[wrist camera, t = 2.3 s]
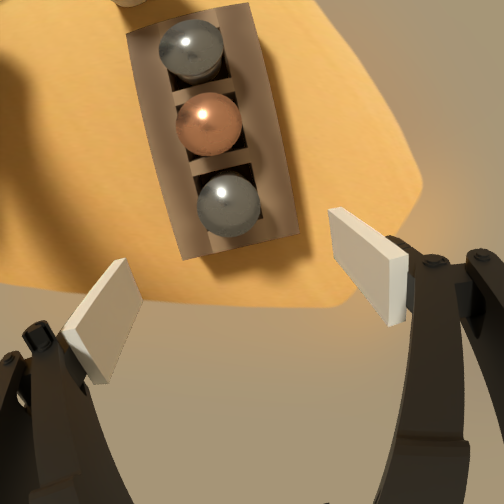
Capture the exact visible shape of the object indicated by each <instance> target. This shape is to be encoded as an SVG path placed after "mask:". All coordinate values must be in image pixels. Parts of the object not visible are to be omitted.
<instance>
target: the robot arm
mask: <svg viewBox="0 0 504 504" xmlns="http://www.w3.org/2000/svg"><path fill="white" fill-rule="evenodd" d="M328 216H329V223H330V230H331V238H332V246H333V255H334V259H335V260H336V261H337V262H338V264H339V265H340V266H341V267H342V268H343V270H344V271H345V272H346V273H347V275H348V276H349V277H350V278H351V280H352V281H353V282H354V283H355V285H356V286H357V287H358V288H359V290H360V291H361V292H362V294H363V295H364V296H365V297H366V299H367V300H368V301H369V302H370V304H371V305H372V306H373V308H374V309H375V310H376V312H377V313H378V314H379V316H380V317H381V318H382V319H383V321H384V322H385V323H386V325H387V326H388V327H390V326H393V325H395V324H398V323H401V322H404V321H406V309H407V308H408V310H410V312H411V313H412V322H411V331H410V344H409V353H408V360H407V368H406V375H405V381H404V387H403V393H402V399H401V404H400V409H399V414H398V419H397V423H396V428H395V432H394V437H393V441H392V444H391V449H390V452H389V456H388V459H387V463H386V466H385V470H384V473H383V476H382V479H381V483H380V485H379V488H378V491H377V494H376V497H375V499H374V502H373V504H463V502H464V497H465V491H466V485H467V478H468V470H469V461H470V445H469V442H468V441H466V440H464V438H463V427H464V362H463V348H462V337H461V327H460V322H461V324H462V326H463V328H464V330H465V333H466V335H467V337H468V339H469V342H470V344H471V346H472V349H473V351H474V354H475V356H476V358H477V361H478V364H479V366H480V369H481V371H482V374H483V376H484V379H485V382H486V385H487V387H488V390H489V394H490V397H491V400H492V403H493V406H494V409H495V412H496V416H497V419H498V423H499V426H500V430H501V434H502V438H503V442H504V263H503V262H502V261H501V259H500V258H499V257H498V256H497V255H496V254H494V253H493V252H491V251H489V250H487V249H482V248H480V249H474V250H470V251H469V252H468V253H467V256H466V263H464V264H454V265H451V264H450V262H449V260H448V259H447V258H445V257H443V256H440V255H435V254H429V255H423V254H421V253H420V252H418V251H417V250H416V249H414V248H413V247H411V246H410V245H409V244H407V243H406V242H404V241H403V240H401V239H400V238H396V237H394V236H391V235H389V236H385V237H384V236H383V235H382V234H380V233H379V232H377V231H376V230H374V229H373V228H372V227H370V226H369V225H367V224H366V223H364V222H363V221H362V220H360V219H359V218H357V217H356V216H354V215H353V214H351V213H350V212H348V211H347V210H345V209H344V208H342V207H338V208H333V209H328ZM142 303H143V299H142V297H141V294H140V292H139V290H138V287H137V285H136V282H135V280H134V277H133V275H132V272H131V270H130V267H129V264H128V262H127V259H126V258H122V259H118V260H114V261H113V262H112V264H111V265H110V266H109V267H108V269H107V270H106V271H105V272H104V274H103V275H102V276H101V277H100V279H99V280H98V281H97V282H96V284H95V285H94V286H93V287H92V289H91V290H90V291H89V293H88V294H87V295H86V297H85V298H84V299H83V301H82V302H81V303H80V305H79V306H78V307H77V309H76V310H75V311H74V312H73V314H72V315H71V316H70V318H69V319H68V321H67V322H66V323H65V325H64V326H63V328H62V329H61V330H60V332H59V333H58V335H57V336H56V337H55V335H54V333H53V332H52V330H51V328H50V326H49V325H48V323H47V321H45V320H43V321H39V322H36V323H34V324H32V325H31V326H30V327H28V328H27V329H26V330H25V331H24V332H23V335H22V337H23V339H24V341H25V342H26V344H27V346H28V347H29V349H30V350H31V352H32V357H30V358H27V359H23V357H22V355H21V354H20V352H19V351H12V352H10V353H7V354H6V355H4V357H3V359H2V360H1V361H0V504H134V503H133V501H132V499H131V497H130V495H129V493H128V491H127V489H126V487H125V485H124V483H123V481H122V478H121V476H120V474H119V472H118V470H117V467H116V465H115V462H114V460H113V458H112V455H111V453H110V450H109V448H108V445H107V442H106V440H105V438H104V434H103V432H102V429H101V426H100V423H99V420H98V417H97V414H96V411H95V408H94V405H93V401H92V398H91V395H90V391H89V388H88V386H87V385H86V384H85V382H84V379H85V377H86V375H88V377H89V378H90V380H91V381H92V383H93V384H94V385H96V384H109V381H110V379H111V376H112V374H113V371H114V369H115V366H116V364H117V361H118V359H119V356H120V354H121V351H122V349H123V346H124V344H125V342H126V339H127V337H128V335H129V332H130V330H131V328H132V325H133V323H134V320H135V318H136V316H137V314H138V312H139V309H140V307H141V305H142ZM17 394H18V395H19V396H20V398H21V399H22V400H23V401H24V403H25V405H24V407H23V406H22V405H21V404H20V403H19V402H18V399H17ZM325 504H329V503H325Z"/></svg>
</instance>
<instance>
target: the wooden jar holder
mask: <svg viewBox="0 0 504 504" xmlns="http://www.w3.org/2000/svg"><path fill="white" fill-rule="evenodd" d="M192 19H198V20H203V21H207V22H209V23H211V24H213V25H214V26H215V27H216V28H217V29H218V30H219V31H220V33H221V35H222V38H223V56H224V60H225V64H226V68H227V72H228V76H229V78H227V79H222V80H218V81H213V82H209V83H205V84H201V85H197V86H193V87H189V88H186V89H182V90H179V88H178V83H177V79H176V74H174V73H172V72H171V71H170V70H168V69H167V68H166V67H165V66H164V64H163V63H162V61H161V59H160V56H159V44H160V41H161V39H162V37H163V35H164V34H165V33H166V32H167V31H168V30H169V29H170V28H171V27H172V26H174V25H175V24H177V23H179V22H182V21H185V20H192ZM126 37H127V43H128V49H129V54H130V60H131V65H132V70H133V75H134V80H135V85H136V90H137V95H138V99H139V104H140V108H141V113H142V117H143V121H144V126H145V130H146V134H147V138H148V142H149V146H150V150H151V154H152V158H153V162H154V165H155V169H156V173H157V177H158V180H159V184H160V187H161V191H162V195H163V198H164V202H165V205H166V208H167V212H168V215H169V219H170V222H171V225H172V229H173V232H174V235H175V238H176V241H177V245H178V248H179V251H180V254H181V257H182V260H188V259H192V258H196V257H200V256H205V255H209V254H213V253H218V252H222V251H226V250H230V249H235V248H239V247H243V246H248V245H252V244H256V243H261V242H265V241H269V240H274V239H278V238H283V237H287V236H291V235H296V234H300V231H299V226H298V220H297V214H296V209H295V203H294V197H293V192H292V187H291V181H290V176H289V171H288V166H287V161H286V156H285V151H284V146H283V141H282V137H281V132H280V127H279V123H278V118H277V114H276V109H275V105H274V100H273V96H272V92H271V87H270V83H269V79H268V75H267V71H266V67H265V63H264V59H263V55H262V51H261V47H260V43H259V39H258V35H257V32H256V28H255V24H254V21H253V17H252V13H251V10H250V6H249V3H242V4H235V5H229V6H224V7H218V8H213V9H209V10H204V11H200V12H195V13H191V14H187V15H183V16H180V17H176V18H172V19H169V20H165V21H162V22H159V23H156V24H153V25H150V26H147V27H144V28H141V29H138V30H135V31H132V32H130V33H127V34H126ZM209 92H211V93H218V94H221V95H224V96H226V97H228V98H229V99H234V102H235V104H236V106H237V107H238V109H239V111H240V114H241V118H242V129H241V132H242V137H243V141H244V145H245V147H240V148H236V149H231V150H227V151H225V152H223V153H221V154H218V155H214V156H203V157H199V158H195V155H194V153H193V152H191V151H189V150H188V149H187V148H185V147H184V146H183V144H182V143H181V142H180V140H179V138H178V135H177V132H176V119H177V115H178V113H179V111H180V109H181V107H182V106H183V105H184V104H185V103H186V102H187V101H188V100H189V99H190V98H192V97H194V96H196V95H198V94H202V93H209ZM246 163H249V167H250V172H251V176H252V181H253V185H254V188H255V189H256V191H257V193H258V195H259V198H260V204H261V209H260V214H259V217H258V220H257V221H256V223H255V224H254V226H253V227H252V228H251V229H250V230H249V231H247V232H246V233H244V234H242V235H240V236H236V237H221V236H217V235H215V234H213V233H211V232H210V231H208V230H207V229H206V228H205V227H204V226H203V224H202V223H201V221H200V219H199V216H198V213H197V201H198V197H199V194H200V192H201V190H202V189H203V187H202V183H201V179H200V174H204V173H208V172H212V171H216V170H220V169H225V168H229V167H233V166H237V165H242V164H246Z"/></svg>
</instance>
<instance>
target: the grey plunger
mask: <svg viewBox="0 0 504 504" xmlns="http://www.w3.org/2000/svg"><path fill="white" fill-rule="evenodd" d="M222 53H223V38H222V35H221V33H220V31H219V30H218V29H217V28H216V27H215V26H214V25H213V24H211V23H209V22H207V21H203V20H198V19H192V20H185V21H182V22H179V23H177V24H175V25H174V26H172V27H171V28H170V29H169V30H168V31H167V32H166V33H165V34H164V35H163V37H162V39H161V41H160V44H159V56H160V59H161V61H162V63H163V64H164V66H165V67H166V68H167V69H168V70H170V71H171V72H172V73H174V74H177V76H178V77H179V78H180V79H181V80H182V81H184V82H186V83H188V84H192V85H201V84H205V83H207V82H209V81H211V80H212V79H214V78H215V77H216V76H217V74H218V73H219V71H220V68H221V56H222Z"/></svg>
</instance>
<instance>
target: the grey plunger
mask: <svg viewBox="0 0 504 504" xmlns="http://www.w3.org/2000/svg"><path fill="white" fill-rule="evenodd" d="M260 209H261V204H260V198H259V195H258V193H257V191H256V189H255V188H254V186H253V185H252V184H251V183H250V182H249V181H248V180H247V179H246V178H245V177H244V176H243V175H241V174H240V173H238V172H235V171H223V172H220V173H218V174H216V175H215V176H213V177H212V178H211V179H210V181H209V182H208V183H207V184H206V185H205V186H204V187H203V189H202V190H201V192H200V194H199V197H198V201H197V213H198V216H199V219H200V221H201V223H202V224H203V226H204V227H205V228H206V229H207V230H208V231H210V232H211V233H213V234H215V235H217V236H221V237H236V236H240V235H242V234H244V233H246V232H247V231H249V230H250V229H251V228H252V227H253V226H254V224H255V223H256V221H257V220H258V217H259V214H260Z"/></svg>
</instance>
